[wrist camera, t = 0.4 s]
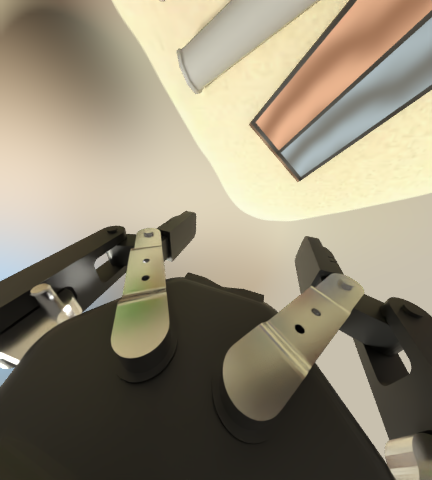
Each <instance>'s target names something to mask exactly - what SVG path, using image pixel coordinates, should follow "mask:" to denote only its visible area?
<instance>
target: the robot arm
mask: <svg viewBox="0 0 432 480" xmlns="http://www.w3.org/2000/svg"><path fill="white" fill-rule="evenodd" d="M195 233H196V214H195V213H194V212H188V211H185V212H183V213H182V214H181V215H179V216H175V217H173V218H171V219H170V220H169V221H167V222H166V223H164V224H162V225H161V226H159V227H158V228H157V229H156V228H146V229H142V230H140V231H138V233H137V234H126V231H125V228H124V227H121V226H110V227H106V228H104V229H102V230H100V231H98V232H96V233H94V234H92V235H90V236H88V237H86V238H84V239H82V240H80V241H78V242H76V243H74V244H73V245H70V246H68V247H66V248H65V249H63V250H61V251H59V252H57V253H55V254H53V255H51V256H49V257H47V258H45V259H43V260H41V261H39V262H37V263H35V264H33V265H31V266H30V267H27V268H25V269H24V270H22V271H20V272H18V273H16V274H14V275H12V276H10V277H8V278H6V279H4V280H2V281H0V367H1V368H4V369H9V368H13V367H15V368H14V370H13V371H12V373H11V374H10V375H9V377H8V378H7V379H6V380H5V382H4V383H3V385H1V387H0V480H432V317H431V316H430V315H429V314H428V313H427V312H426V311H424V310H423V309H421V308H420V307H418V306H416V305H415V304H413V303H411V302H409V301H406V300H404V299H400V298H395V297H391V298H389V299H388V300H387V301H386V302H385V303H383V302H381V301H378V300H376V299H374V298H372V297H370V296H367V295H365V294H364V289H363V287H362V286H361V285H360V284H359V283H358V282H356V281H355V280H353V279H352V278H350V277H348V276H346V275H344V274H343V272H342V270H341V269H340V267H339V265H338V264H337V261H336V260H335V259H334V256H333V254H332V253H331V252H330V251H329V250H328V249H327V248H325V247H323V246H322V244H321V242H320V240H319V239H318V238H313V237H308V236H306V237H305V238H304V240H303V241H302V244H301V246H300V248H299V250H298V253H297V255H296V259H295V266H296V270H297V276H298V281H299V287H300V292H301V295H299V296H298V297H297V298H296V299H294V300H293V301H292V302H291V303H290V304H289V305H287V306H286V307H285V308H284V309H282V310H281V311H280V312H277V311H276V310H275V309H273V308H272V307H271V306H269V305H268V304H267V303H265V302H264V295H261V294H258V293H255V292H251V291H248V290H245V289H237V288H227V287H221V286H220V285H218V284H216V283H214V282H212V281H211V280H209V279H207V278H205V277H202V276H198V275H195V274H192V273H187V275H186V276H185V277H177V278H170V279H166V275H165V266H164V261H165V260H168V261H171V262H172V261H173V260H174V259H175V258H176V257H177V256H178V255H179V254H180V253H181V251H182V250H183V249H184V248H185V247H186V246H187V245H188V244H189V243H190V241H191V240H192V239H193V238H194V236H195ZM104 253H107V256H108V258H109V260H108V261H107V262H106V263H104V264H103V265H101V266H100V267H99V268H97V269H95V267H94V263H95V261H96V259H97V258H99V257H100V256H102V255H103V254H104ZM125 273H126V278H125V284H124V289H123V295H122V297H121V298H119V299H116V300H114V301H111V302H109V303H107V304H104V305H101V306H99V307H97V308H94V309H91V310H89V311H86V312H84V313H82V312H83V311H84V310H86V309H87V308H88V307H89V306H90V305H91V304H92V303H93V302H94V301H95V300H96V299H97V298H98V297H100V296H101V295H102V294H103V293H104V292H105V291H106V290H107V289H108V288H109V287H110V286H112V285H113V284H114V283H115V282H116V281H117V280H118V279H119V278H120V277H121V276H122V275H124V274H125ZM81 313H82V314H81ZM338 330H341V331H342V332H344V333H346V334H347V335H349V336H351V337H353V340H354V342H355V345H356V348H357V351H358V354H359V356H360V359H361V362H362V365H363V368H364V370H365V373H366V376H367V379H368V382H369V384H370V387H371V390H372V393H373V395H374V398H375V401H376V404H377V406H378V409H379V412H380V415H381V418H382V420H383V423H384V426H385V429H386V432H387V434H388V437H389V441H388V442H387V443H386V446H385V458H386V462H387V464H386V463H385V461H384V459H383V458H382V456H381V455H380V454H379V452H378V451H377V449H376V448H375V446H374V445H373V444H372V442H371V441H370V439H369V438H368V437H367V435H366V434H365V432H364V431H363V429H362V428H361V427H360V425H359V424H358V423H357V421H356V420H355V418H354V417H353V415H352V414H351V413H350V411H349V410H348V408H347V407H346V405H345V404H344V403H343V401H342V400H341V399H340V397H339V396H338V394H337V393H336V391H335V390H334V389H333V387H332V386H331V384H330V383H329V382H328V380H327V379H326V377H325V376H324V374H323V373H322V372H321V370H320V369H319V367H318V366H317V365H316V363H315V362H316V360H317V359H318V357H319V356H320V355H321V353H322V352H323V351H324V349H325V348H326V346H327V345H328V344H329V342H330V341H331V340H332V338H333V337H334V336H335V334H336V333H337V332H338ZM402 350H404V351H405V353H406V354H407V356H408V358H409V359H410V362H411V368H412V369H411V372H410V374H409V373H408V371H407V369H406V367H405V366H404V364H403V362H402V361H401V358H400V357H399V355H398V353H399V352H400V351H402Z"/></svg>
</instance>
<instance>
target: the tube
mask: <svg viewBox="0 0 432 480" xmlns="http://www.w3.org/2000/svg"><path fill="white" fill-rule="evenodd" d="M318 1H319V0H231V1H230V2H229V3H228V4H227V5H226V6H225V7H224V8H223V9H222V10H221V11H220V12H219V13H218V14H217V15H216V16H215V17H214V18H213V19H212V20H211V21H210V22H209V23H208V24H207V25H206V26H205V27H204V28H203V29H202V30H201V31H200V32H199V33H198V34H197V35H196V36H195V37H194V38H193V39H192V40H191V41H190V42H189V43H188V44H187V45H186V46H185V47H184V48H182V49H178V50H177V56H178V61H179V66H180V69H181V71H182V73H183V76H184V78H185V80H186V83H187V85H188V86H189V87H190V88H191V89H192V91H193V92H194V93H195V94H198V93H201V92H202V89H203V88H204V87H206V86H207V85H208V84H210V83H211V82H212V81H214V80H215V79H216V78H218V77H219V76H220V75H222V74H223V73H224V72H226V71H227V70H228V69H230V68H231V67H232V66H234V65H235V64H236V63H237V62H239V61H240V60H241V59H243V58H244V57H245V56H247V55H248V54H249V53H251V52H252V51H253V50H255V49H256V48H257V47H259V46H260V45H261V44H263V43H264V42H265V41H267V40H268V39H269V38H271V37H272V36H273V35H274V34H276V33H277V32H278V31H280V30H281V29H282V28H284V27H285V26H286V25H288V24H289V23H290V22H292V21H293V20H294V19H296V18H297V17H298V16H300V15H301V14H302V13H304V12H305V11H306V10H308V9H309V8H310V7H311V6H313V5H314V4H315V3H317V2H318Z"/></svg>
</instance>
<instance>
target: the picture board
mask: <svg viewBox="0 0 432 480" xmlns="http://www.w3.org/2000/svg"><path fill="white" fill-rule="evenodd" d="M430 90H432V0H349V1H348V3H347V4H346V5H345V6H344V8H343V9H342V10H341V11H340V13H339V14H338V15H337V16H336V17H335V19H334V20H333V21H332V22H331V24H330V25H329V26H328V27H327V29H326V30H325V31H324V32H323V34H322V35H321V36H320V37H319V39H318V40H317V41H316V42H315V43H314V45H313V46H312V47H311V48H310V50H309V51H308V52H307V53H306V55H305V56H304V57H303V58H302V60H301V61H300V62H299V63H298V64H297V66H296V67H295V68H294V69H293V71H292V72H291V73H290V74H289V76H288V77H287V78H286V79H285V81H284V82H283V83H282V84H281V85H280V87H279V88H278V89H277V90H276V92H275V93H274V94H273V95H272V97H271V98H270V99H269V100H268V102H267V103H266V104H265V105H264V106H263V108H262V109H261V110H260V111H259V113H258V114H257V115H256V116H255V118H254V119H253V120H252V121H251V123H250V124H249V125H250V126H251V128H252V129H253V130H254V131H255V132H256V134H257V135H258V136H259V137H260V138H261V139H262V141H263V142H264V143H265V144H266V145H267V146H268V148H269V149H270V150H271V151H272V152H273V154H274V155H275V156H276V157H277V158H278V159H279V161H280V162H281V163H282V164H283V165H284V167H285V168H286V169H287V170H288V171H289V172H290V174H291V175H292V176H293V177H294V178H295V179H296V181H297V182H299V181H301V180H302V179H303V178H305V177H306V176H308V175H309V174H311V173H312V172H314V171H315V170H316V169H318V168H319V167H321V166H322V165H324V164H325V163H327V162H328V161H329V160H331V159H332V158H334V157H335V156H337V155H338V154H340V153H341V152H342V151H344V150H345V149H347V148H348V147H350V146H351V145H353V144H354V143H355V142H357V141H358V140H360V139H361V138H363V137H364V136H366V135H367V134H368V133H370V132H371V131H373V130H374V129H376V128H377V127H378V126H380V125H381V124H383V123H384V122H386V121H387V120H389V119H390V118H391V117H393V116H394V115H396V114H397V113H399V112H400V111H402V110H403V109H404V108H406V107H407V106H409V105H410V104H412V103H413V102H415V101H416V100H417V99H419V98H420V97H422V96H423V95H425V94H426V93H428V92H429V91H430Z"/></svg>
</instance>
